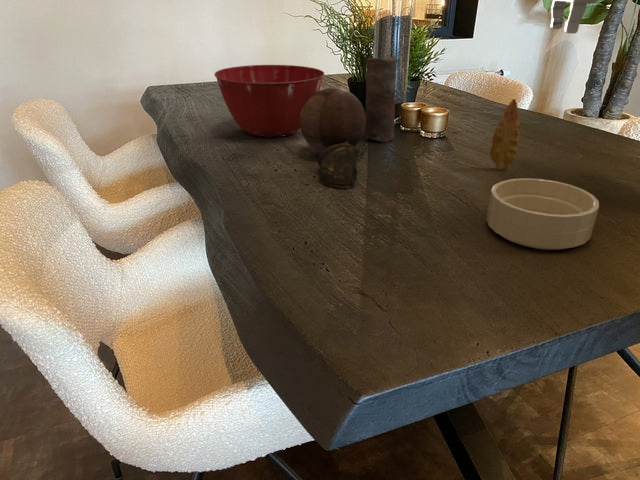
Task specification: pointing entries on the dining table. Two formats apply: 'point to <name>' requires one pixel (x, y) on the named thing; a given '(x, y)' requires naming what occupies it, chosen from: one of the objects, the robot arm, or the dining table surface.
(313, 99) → the wooden sphere
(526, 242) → the bowl
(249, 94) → the mixing bowl
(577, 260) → the dining table surface
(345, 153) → the seashell
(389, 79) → the candle
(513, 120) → the stone tool
